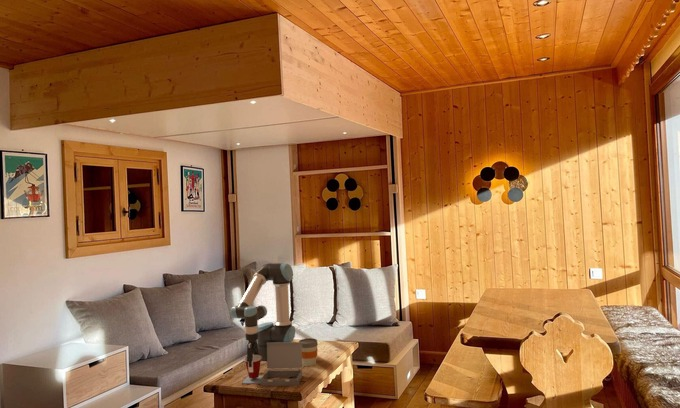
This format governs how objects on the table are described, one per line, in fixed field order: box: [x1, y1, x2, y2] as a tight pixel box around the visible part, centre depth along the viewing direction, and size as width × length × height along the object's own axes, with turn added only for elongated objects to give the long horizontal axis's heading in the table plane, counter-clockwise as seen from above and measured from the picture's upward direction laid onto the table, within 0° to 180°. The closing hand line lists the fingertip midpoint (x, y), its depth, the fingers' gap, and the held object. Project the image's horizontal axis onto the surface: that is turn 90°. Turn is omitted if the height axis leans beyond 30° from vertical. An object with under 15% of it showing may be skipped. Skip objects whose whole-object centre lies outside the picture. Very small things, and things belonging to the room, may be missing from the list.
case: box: [260, 369, 303, 387], centre depth 321 cm, size 17×22×4 cm
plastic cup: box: [243, 354, 262, 379], centre depth 324 cm, size 11×11×12 cm
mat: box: [241, 375, 264, 385], centre depth 324 cm, size 12×11×1 cm
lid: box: [266, 341, 303, 371], centre depth 330 cm, size 16×22×2 cm
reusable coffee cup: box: [298, 338, 319, 367], centre depth 351 cm, size 13×13×15 cm
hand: (253, 368), depth 324 cm, fingers closed on plastic cup, 11 cm apart
